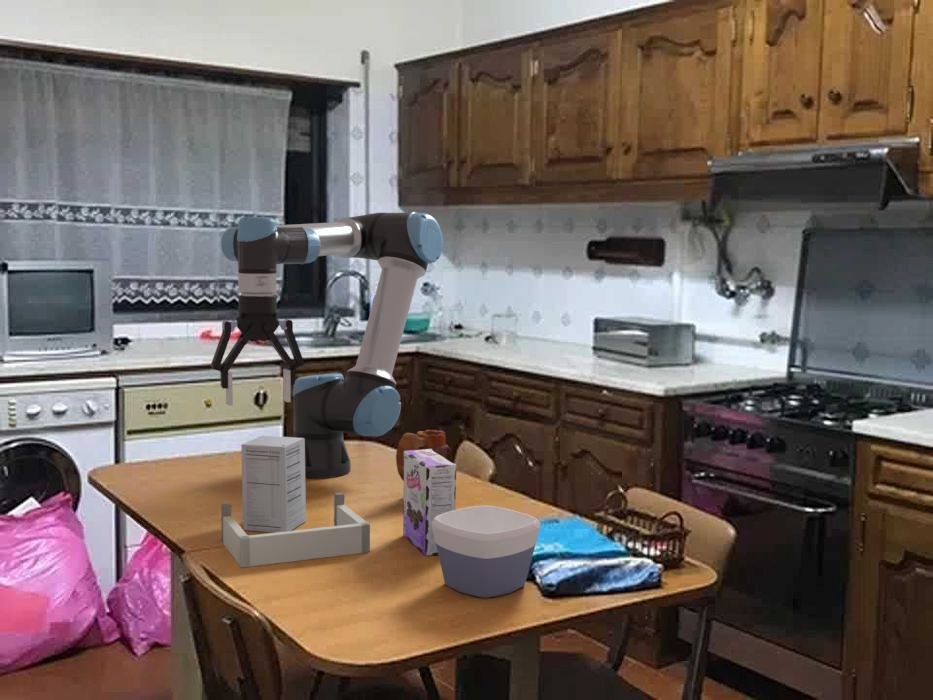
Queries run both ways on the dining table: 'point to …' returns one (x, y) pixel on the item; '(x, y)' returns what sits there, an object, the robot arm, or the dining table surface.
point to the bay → (297, 539)
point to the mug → (421, 445)
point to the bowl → (485, 549)
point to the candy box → (426, 495)
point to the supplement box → (273, 484)
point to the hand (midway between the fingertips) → (258, 402)
